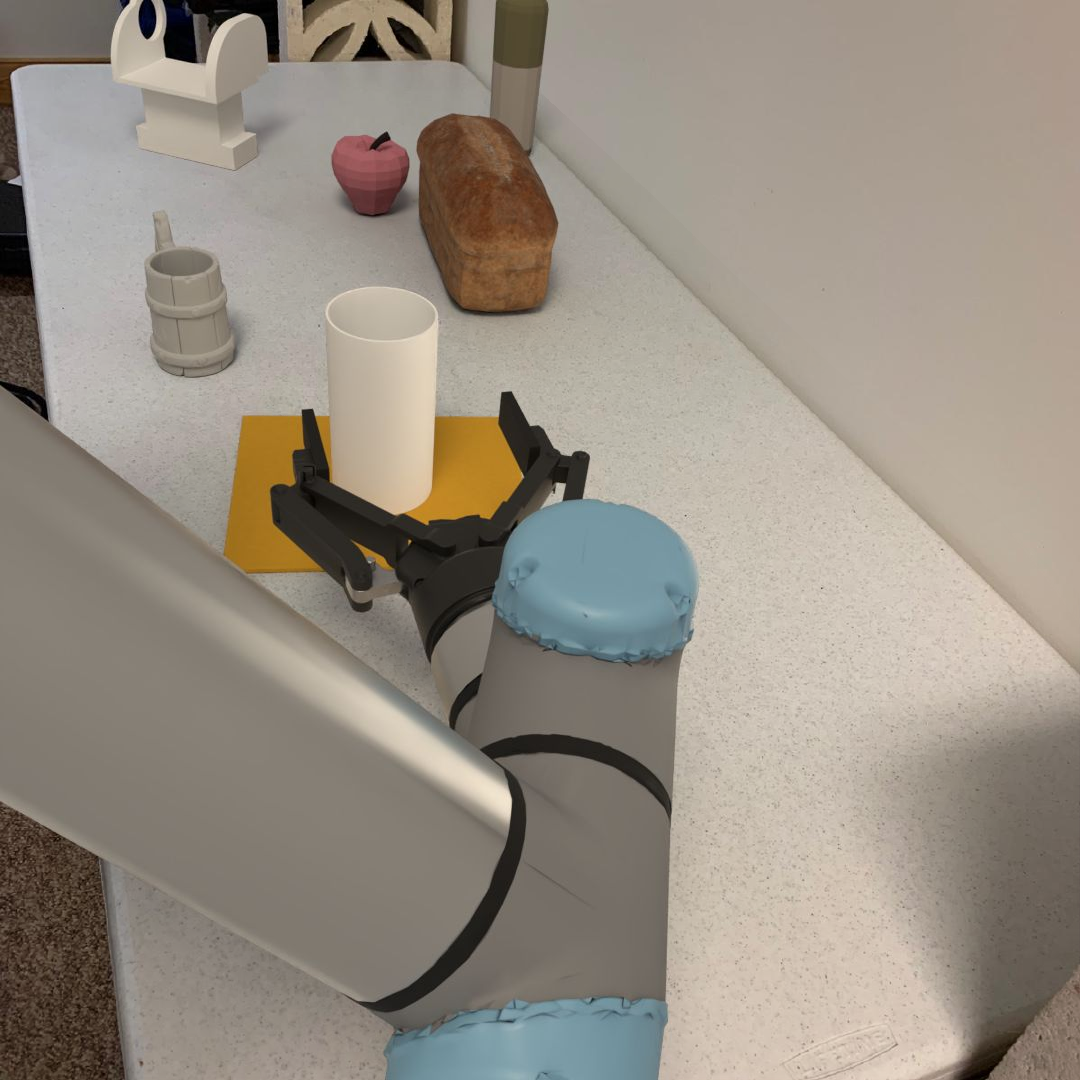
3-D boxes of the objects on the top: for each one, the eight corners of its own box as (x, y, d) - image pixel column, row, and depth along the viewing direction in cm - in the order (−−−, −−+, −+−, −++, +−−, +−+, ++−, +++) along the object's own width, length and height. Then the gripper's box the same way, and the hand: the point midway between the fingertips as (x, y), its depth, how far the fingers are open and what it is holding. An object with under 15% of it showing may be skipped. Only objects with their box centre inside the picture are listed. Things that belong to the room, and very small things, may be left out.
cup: (324, 461, 85) (315, 289, 74) (418, 449, 87) (423, 282, 77) (342, 522, 79) (336, 346, 68) (443, 508, 82) (451, 337, 71)
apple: (386, 191, 128) (387, 112, 122) (423, 218, 124) (425, 136, 117) (320, 204, 124) (316, 122, 117) (355, 232, 119) (353, 148, 112)
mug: (166, 386, 91) (146, 264, 83) (131, 325, 98) (109, 208, 90) (248, 369, 94) (235, 251, 87) (208, 311, 102) (194, 197, 94)
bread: (500, 211, 128) (510, 95, 118) (558, 320, 108) (575, 191, 98) (407, 211, 125) (409, 92, 115) (449, 324, 105) (456, 191, 95)
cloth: (222, 573, 74) (221, 569, 74) (243, 418, 89) (242, 415, 88) (539, 566, 78) (540, 563, 78) (509, 420, 93) (509, 416, 92)
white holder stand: (126, 154, 129) (100, 1, 117) (181, 125, 138) (162, -20, 126) (224, 177, 126) (208, 24, 115) (274, 145, 136) (263, 0, 124)
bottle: (478, 144, 144) (493, -97, 124) (521, 142, 147) (543, -95, 127) (496, 163, 140) (515, -84, 120) (541, 160, 142) (567, -83, 123)
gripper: (261, 729, 52) (224, 479, 66) (691, 651, 59) (573, 442, 74) (249, 630, 47) (212, 384, 61) (720, 559, 54) (587, 355, 69)
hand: (409, 416), depth 68 cm, fingers open, 13 cm apart
